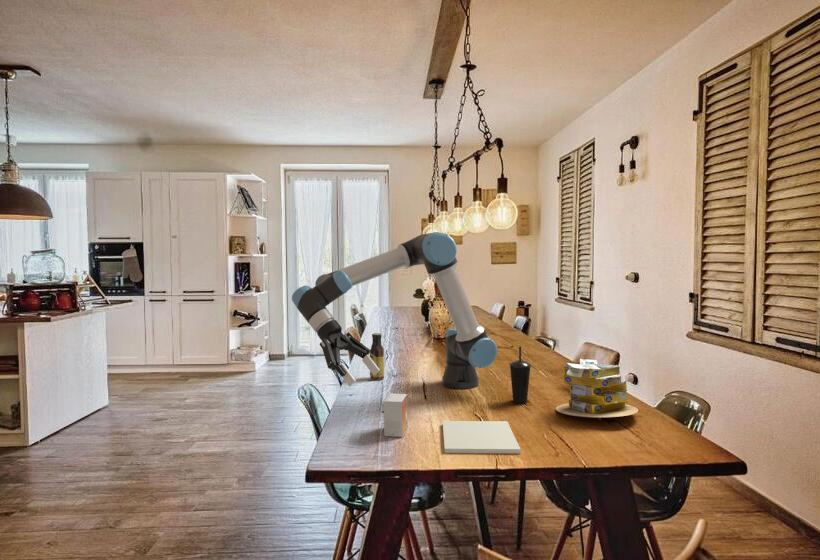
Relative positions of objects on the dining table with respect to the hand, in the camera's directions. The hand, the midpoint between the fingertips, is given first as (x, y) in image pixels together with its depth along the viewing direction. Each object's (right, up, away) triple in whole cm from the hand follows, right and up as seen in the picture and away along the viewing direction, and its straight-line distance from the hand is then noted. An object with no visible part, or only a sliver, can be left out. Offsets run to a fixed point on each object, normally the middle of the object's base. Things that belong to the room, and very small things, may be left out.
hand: (365, 377), depth 137 cm
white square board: (+34, -15, -10) cm, 38 cm away
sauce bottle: (0, -13, +54) cm, 56 cm away
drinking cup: (+53, -14, +22) cm, 59 cm away
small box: (+10, -16, -4) cm, 19 cm away
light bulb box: (+84, -13, +36) cm, 92 cm away
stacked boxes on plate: (+75, -14, +9) cm, 77 cm away
